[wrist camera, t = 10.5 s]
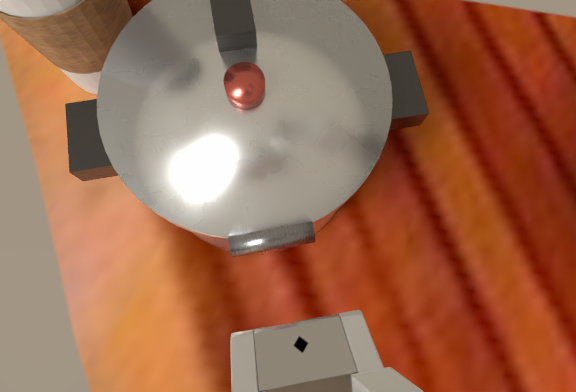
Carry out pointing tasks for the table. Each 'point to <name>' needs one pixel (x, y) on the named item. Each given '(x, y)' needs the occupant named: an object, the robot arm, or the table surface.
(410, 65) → the cooker pot
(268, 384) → the robot arm
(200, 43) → the lid
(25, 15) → the coffee cup
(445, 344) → the table surface
